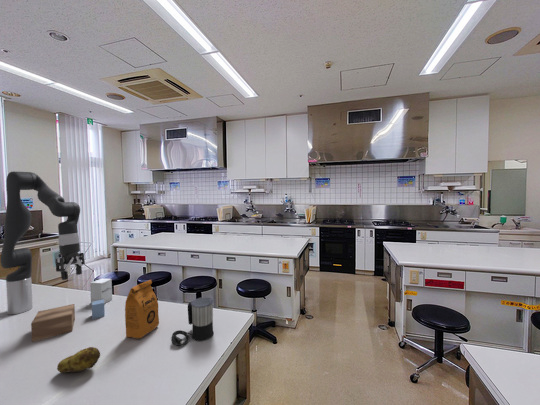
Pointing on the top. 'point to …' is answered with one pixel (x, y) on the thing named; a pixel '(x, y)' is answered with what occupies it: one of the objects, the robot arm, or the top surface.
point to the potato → (79, 360)
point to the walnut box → (53, 322)
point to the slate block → (98, 309)
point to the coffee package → (141, 310)
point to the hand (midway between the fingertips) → (72, 277)
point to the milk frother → (197, 321)
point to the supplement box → (101, 290)
